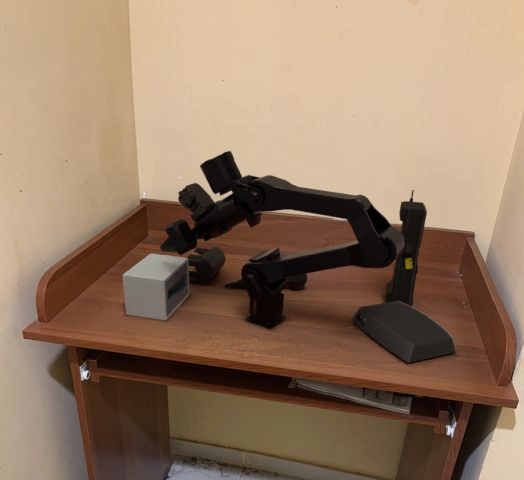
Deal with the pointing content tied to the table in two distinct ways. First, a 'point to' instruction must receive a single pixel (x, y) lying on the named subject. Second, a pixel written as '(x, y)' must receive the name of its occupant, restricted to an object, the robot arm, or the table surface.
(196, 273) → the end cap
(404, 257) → the portable radio
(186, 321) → the table surface
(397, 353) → the hard drive
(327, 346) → the table surface
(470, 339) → the table surface
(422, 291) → the table surface
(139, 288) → the grey hollow block
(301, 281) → the microphone
